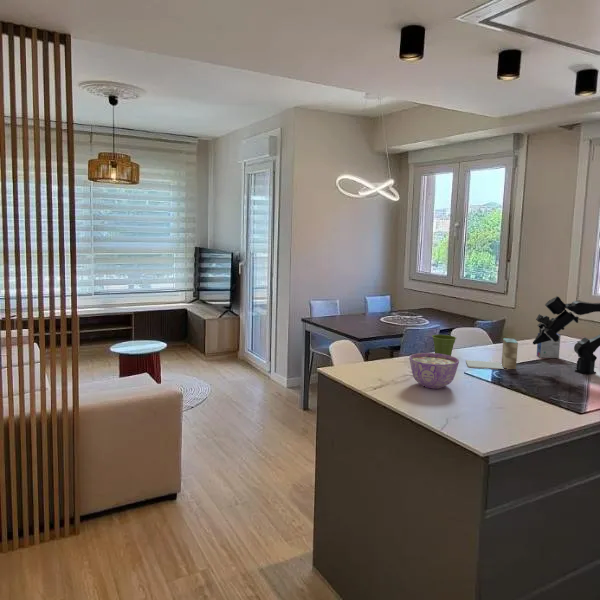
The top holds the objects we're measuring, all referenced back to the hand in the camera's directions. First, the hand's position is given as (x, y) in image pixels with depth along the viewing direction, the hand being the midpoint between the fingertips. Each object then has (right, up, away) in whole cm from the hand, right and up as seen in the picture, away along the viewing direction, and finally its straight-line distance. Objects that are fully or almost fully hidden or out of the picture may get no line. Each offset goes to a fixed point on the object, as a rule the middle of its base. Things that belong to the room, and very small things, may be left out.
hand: (533, 343), depth 244 cm
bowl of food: (-54, -15, -28) cm, 63 cm away
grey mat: (-21, -11, +6) cm, 24 cm away
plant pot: (-37, -9, +18) cm, 42 cm away
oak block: (-10, -11, +4) cm, 16 cm away
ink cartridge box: (+19, -9, +26) cm, 33 cm away
